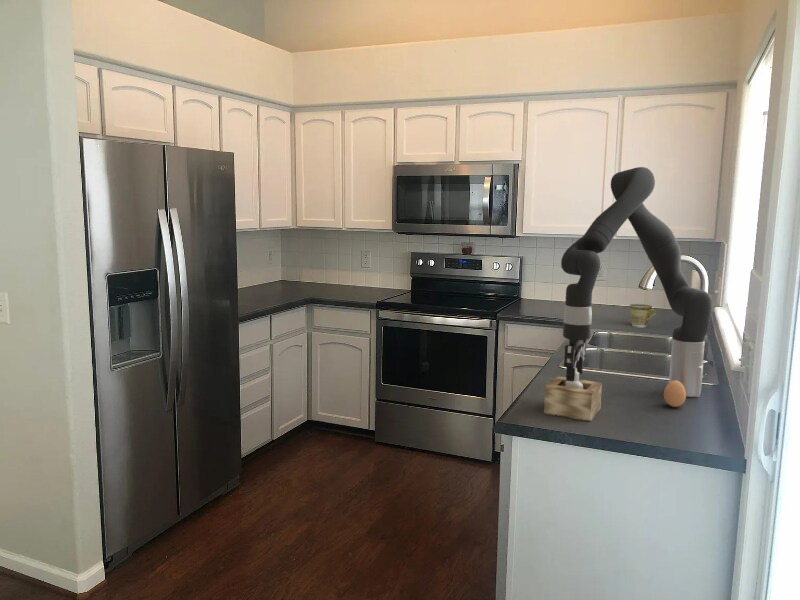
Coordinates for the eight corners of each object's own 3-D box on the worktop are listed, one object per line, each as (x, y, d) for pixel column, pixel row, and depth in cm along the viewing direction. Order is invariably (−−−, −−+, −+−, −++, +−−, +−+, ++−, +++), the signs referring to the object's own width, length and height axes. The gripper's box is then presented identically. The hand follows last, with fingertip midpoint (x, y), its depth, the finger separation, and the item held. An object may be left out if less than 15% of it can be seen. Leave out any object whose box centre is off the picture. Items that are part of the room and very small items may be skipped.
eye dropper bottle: (566, 411, 182) (569, 369, 181) (562, 406, 188) (565, 365, 187) (582, 412, 182) (585, 370, 181) (577, 407, 188) (580, 366, 187)
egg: (659, 406, 190) (661, 380, 189) (666, 402, 195) (668, 376, 193) (681, 411, 186) (683, 384, 185) (687, 406, 191) (689, 380, 190)
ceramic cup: (623, 325, 310) (625, 304, 308) (636, 323, 316) (637, 303, 314) (648, 330, 300) (649, 308, 298) (660, 327, 305) (662, 306, 304)
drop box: (600, 409, 187) (602, 382, 186) (590, 421, 177) (591, 393, 176) (556, 402, 194) (557, 376, 192) (543, 413, 183) (545, 386, 182)
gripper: (584, 327, 173) (581, 385, 176) (597, 318, 185) (593, 373, 188) (556, 324, 177) (553, 381, 180) (570, 315, 189) (568, 369, 192)
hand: (574, 377), depth 184 cm, fingers open, 8 cm apart
